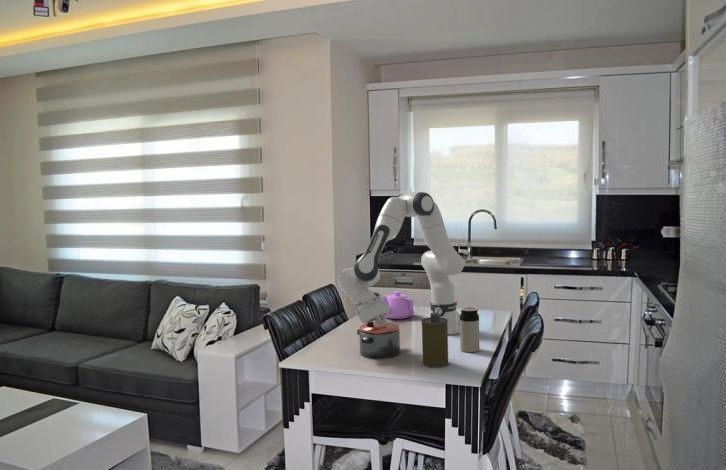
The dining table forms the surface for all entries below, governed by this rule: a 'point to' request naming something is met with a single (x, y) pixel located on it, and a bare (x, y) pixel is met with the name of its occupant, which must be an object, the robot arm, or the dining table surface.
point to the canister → (435, 341)
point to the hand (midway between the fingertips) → (385, 325)
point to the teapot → (399, 306)
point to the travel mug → (469, 329)
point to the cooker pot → (379, 345)
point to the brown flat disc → (378, 328)
